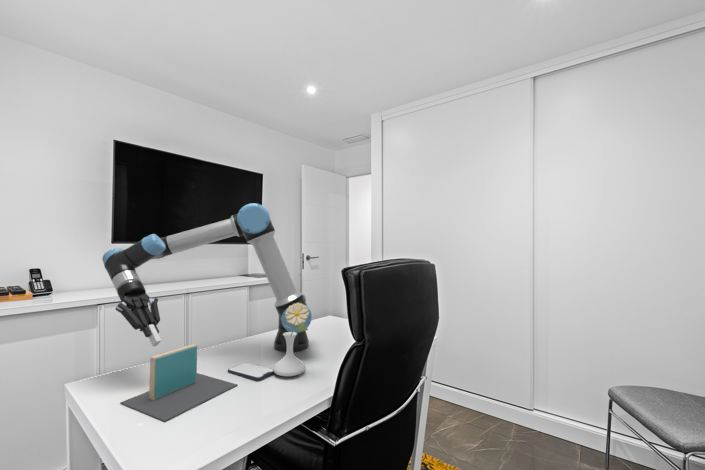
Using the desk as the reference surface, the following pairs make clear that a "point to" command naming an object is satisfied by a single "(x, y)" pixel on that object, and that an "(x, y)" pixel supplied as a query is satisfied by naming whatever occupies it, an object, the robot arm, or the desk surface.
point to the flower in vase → (290, 362)
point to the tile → (172, 371)
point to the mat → (179, 398)
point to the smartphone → (251, 371)
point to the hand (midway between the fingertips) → (157, 343)
